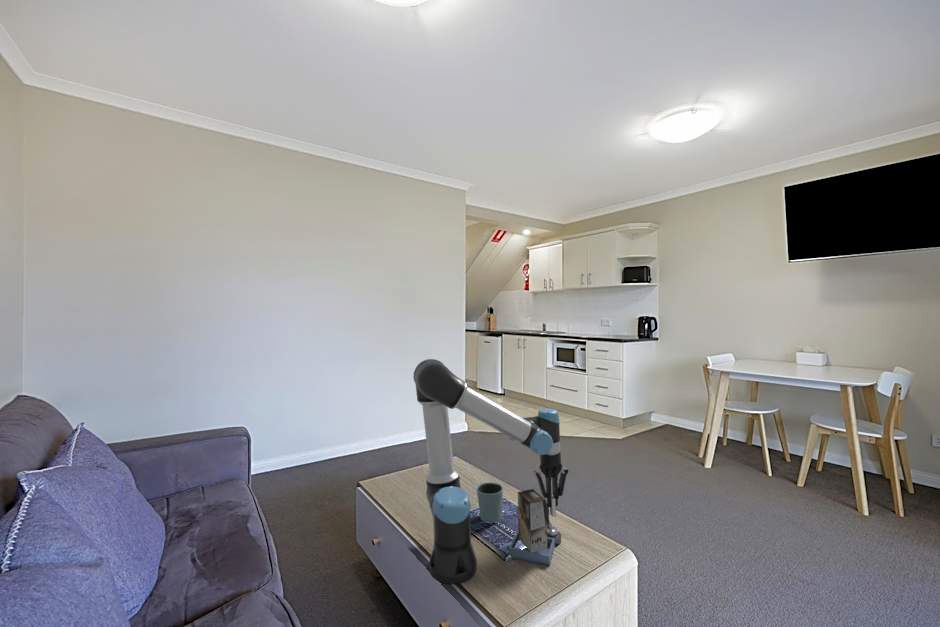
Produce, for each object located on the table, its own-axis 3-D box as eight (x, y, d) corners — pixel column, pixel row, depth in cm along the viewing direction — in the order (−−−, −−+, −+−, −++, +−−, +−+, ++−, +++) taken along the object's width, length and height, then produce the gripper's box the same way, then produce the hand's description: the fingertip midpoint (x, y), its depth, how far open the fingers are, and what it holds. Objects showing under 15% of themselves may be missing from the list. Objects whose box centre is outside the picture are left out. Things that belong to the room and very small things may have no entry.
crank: (559, 536, 138) (558, 517, 138) (547, 537, 138) (547, 518, 138) (549, 518, 150) (549, 501, 150) (539, 519, 149) (538, 502, 149)
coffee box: (548, 548, 130) (547, 500, 130) (531, 553, 128) (529, 503, 127) (534, 534, 139) (533, 488, 138) (517, 538, 136) (516, 491, 136)
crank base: (559, 547, 136) (559, 541, 136) (517, 539, 141) (517, 533, 141) (562, 536, 142) (562, 531, 142) (521, 529, 147) (521, 524, 147)
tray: (549, 565, 126) (549, 556, 126) (509, 557, 131) (509, 548, 131) (554, 547, 136) (554, 538, 136) (516, 540, 140) (516, 531, 140)
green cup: (508, 520, 153) (507, 489, 153) (485, 528, 148) (485, 496, 148) (494, 509, 162) (493, 480, 162) (472, 516, 157) (472, 485, 157)
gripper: (562, 446, 152) (565, 508, 152) (530, 449, 150) (533, 512, 150) (570, 453, 145) (573, 517, 145) (536, 456, 143) (539, 522, 143)
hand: (553, 514), depth 148 cm, fingers closed
